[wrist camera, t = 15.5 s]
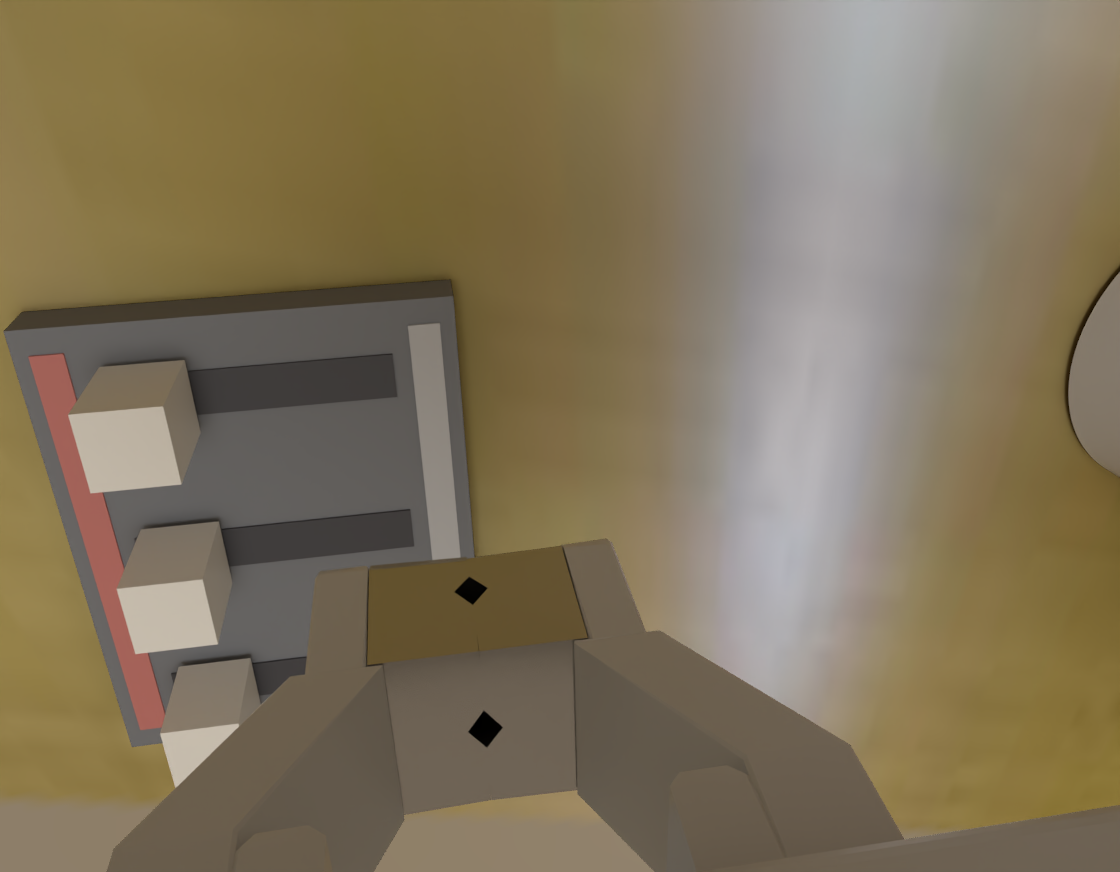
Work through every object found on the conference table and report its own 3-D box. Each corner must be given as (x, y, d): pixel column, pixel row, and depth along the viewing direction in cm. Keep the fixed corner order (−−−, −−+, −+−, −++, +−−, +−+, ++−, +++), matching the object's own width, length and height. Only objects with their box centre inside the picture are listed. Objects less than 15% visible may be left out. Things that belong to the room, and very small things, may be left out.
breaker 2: (250, 658, 42) (238, 723, 39) (262, 710, 44) (251, 778, 40) (178, 666, 42) (159, 733, 39) (192, 719, 43) (175, 788, 40)
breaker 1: (184, 360, 36) (162, 406, 32) (200, 432, 37) (181, 484, 34) (99, 367, 36) (68, 414, 32) (118, 439, 37) (90, 493, 34)
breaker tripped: (218, 521, 39) (202, 579, 36) (232, 582, 41) (217, 644, 37) (140, 529, 39) (116, 588, 35) (157, 590, 40) (135, 654, 37)
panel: (450, 279, 39) (453, 297, 37) (482, 672, 48) (486, 702, 46) (21, 311, 37) (2, 332, 35) (141, 715, 46) (131, 748, 44)
